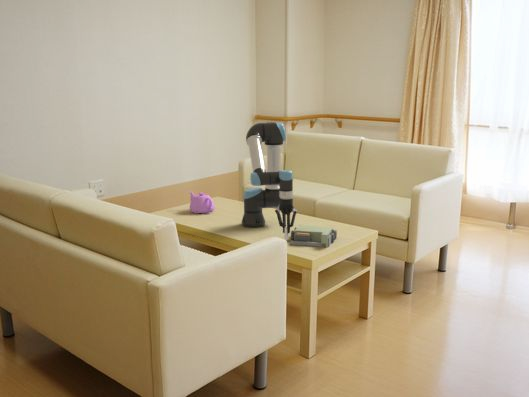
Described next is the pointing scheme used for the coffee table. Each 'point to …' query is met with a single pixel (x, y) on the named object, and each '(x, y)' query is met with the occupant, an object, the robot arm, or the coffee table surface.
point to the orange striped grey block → (303, 237)
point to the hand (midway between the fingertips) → (286, 238)
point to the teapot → (201, 203)
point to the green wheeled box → (315, 235)
